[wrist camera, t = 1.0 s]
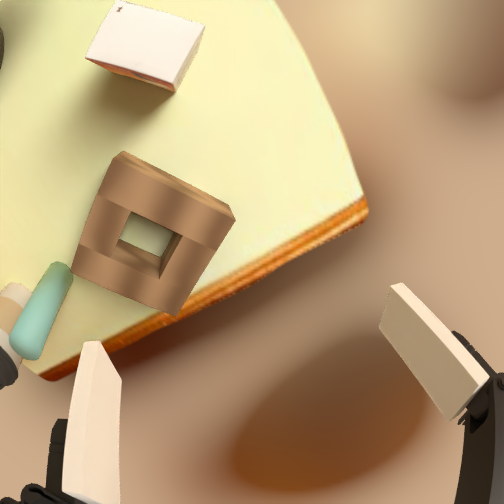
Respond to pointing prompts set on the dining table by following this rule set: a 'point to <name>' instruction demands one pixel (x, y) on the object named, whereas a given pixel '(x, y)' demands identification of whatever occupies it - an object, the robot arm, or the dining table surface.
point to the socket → (159, 211)
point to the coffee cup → (3, 320)
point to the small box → (146, 44)
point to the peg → (40, 312)
